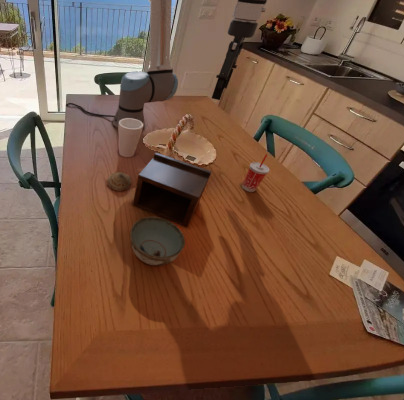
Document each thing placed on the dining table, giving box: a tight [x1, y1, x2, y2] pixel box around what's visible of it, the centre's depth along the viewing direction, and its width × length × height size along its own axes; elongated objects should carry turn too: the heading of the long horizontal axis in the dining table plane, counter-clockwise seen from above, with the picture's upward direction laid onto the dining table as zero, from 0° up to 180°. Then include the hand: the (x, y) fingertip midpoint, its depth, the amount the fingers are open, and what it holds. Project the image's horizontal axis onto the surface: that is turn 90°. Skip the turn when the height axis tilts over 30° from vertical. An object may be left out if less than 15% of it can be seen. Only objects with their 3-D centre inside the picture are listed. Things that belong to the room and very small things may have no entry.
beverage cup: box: [241, 153, 270, 193], centre depth 92 cm, size 6×6×14 cm
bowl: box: [129, 216, 186, 267], centre depth 69 cm, size 14×13×8 cm
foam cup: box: [117, 118, 144, 158], centre depth 106 cm, size 10×9×13 cm
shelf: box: [132, 152, 212, 228], centre depth 83 cm, size 18×13×13 cm
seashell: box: [107, 171, 132, 192], centre depth 94 cm, size 8×6×8 cm
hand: (219, 93), depth 93 cm, fingers open, 13 cm apart
